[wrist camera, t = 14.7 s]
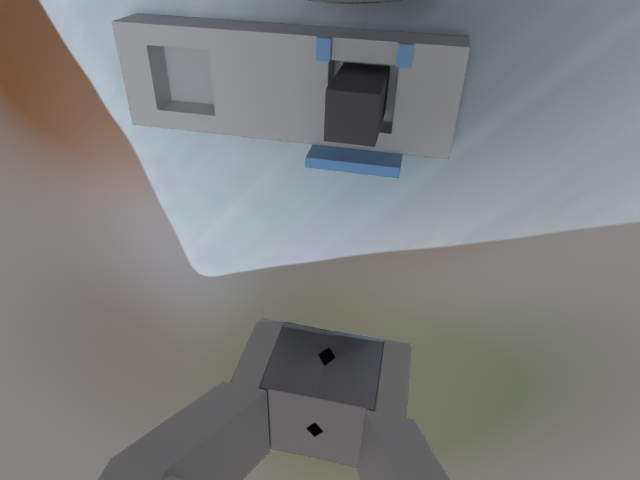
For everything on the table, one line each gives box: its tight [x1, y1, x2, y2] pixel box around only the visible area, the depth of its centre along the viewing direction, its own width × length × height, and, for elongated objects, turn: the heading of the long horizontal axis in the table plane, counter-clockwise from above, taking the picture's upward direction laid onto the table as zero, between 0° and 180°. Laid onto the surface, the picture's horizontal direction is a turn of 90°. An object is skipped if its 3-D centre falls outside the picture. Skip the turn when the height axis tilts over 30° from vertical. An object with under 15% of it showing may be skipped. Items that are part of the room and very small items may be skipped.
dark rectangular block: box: [324, 62, 390, 147], centre depth 34 cm, size 4×4×7 cm
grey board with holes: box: [112, 14, 471, 178], centre depth 36 cm, size 9×26×6 cm, turn 88°
